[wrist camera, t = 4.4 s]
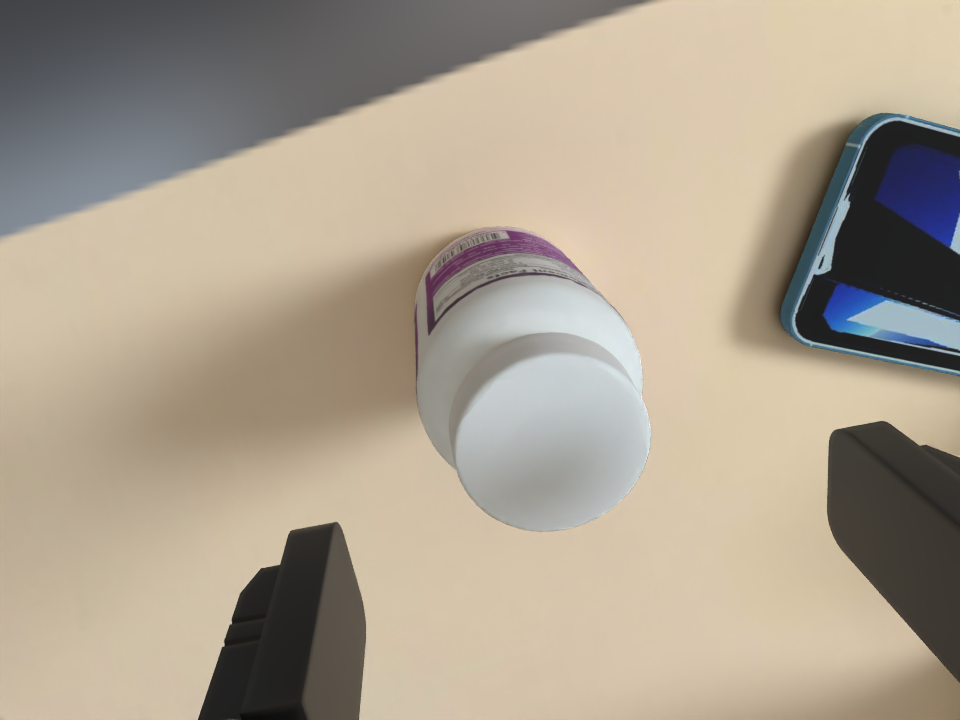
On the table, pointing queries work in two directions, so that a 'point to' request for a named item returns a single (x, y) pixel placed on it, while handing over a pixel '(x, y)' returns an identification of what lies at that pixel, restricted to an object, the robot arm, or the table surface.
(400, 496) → the table surface
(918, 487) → the robot arm
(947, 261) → the smartphone
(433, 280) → the pill bottle
